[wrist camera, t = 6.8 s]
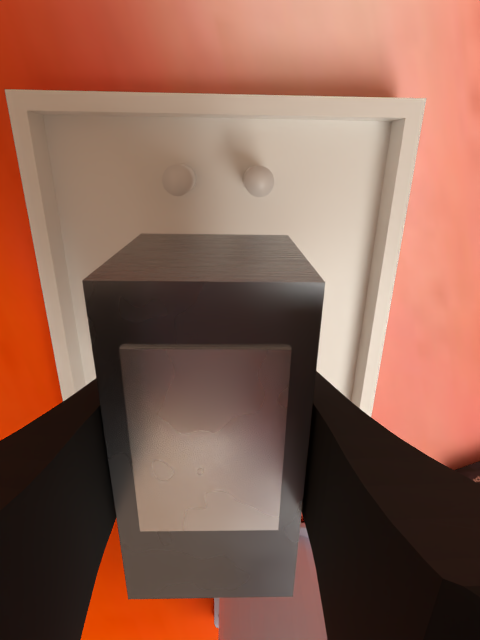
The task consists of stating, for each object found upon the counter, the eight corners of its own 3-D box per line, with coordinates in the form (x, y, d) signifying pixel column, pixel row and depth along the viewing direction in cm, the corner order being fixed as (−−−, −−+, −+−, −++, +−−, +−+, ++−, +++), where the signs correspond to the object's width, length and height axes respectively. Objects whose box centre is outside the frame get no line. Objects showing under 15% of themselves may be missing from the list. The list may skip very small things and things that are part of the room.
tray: (349, 438, 21) (367, 480, 18) (91, 439, 21) (69, 482, 18) (399, 107, 15) (438, 94, 12) (35, 99, 15) (-10, 84, 12)
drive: (273, 463, 14) (293, 600, 9) (159, 464, 13) (127, 603, 9) (287, 235, 11) (326, 284, 6) (140, 233, 10) (80, 282, 6)
